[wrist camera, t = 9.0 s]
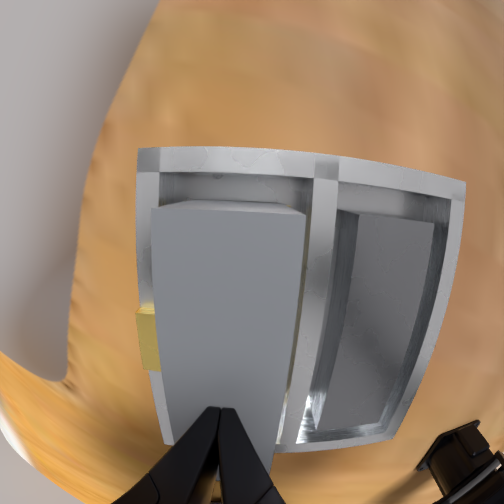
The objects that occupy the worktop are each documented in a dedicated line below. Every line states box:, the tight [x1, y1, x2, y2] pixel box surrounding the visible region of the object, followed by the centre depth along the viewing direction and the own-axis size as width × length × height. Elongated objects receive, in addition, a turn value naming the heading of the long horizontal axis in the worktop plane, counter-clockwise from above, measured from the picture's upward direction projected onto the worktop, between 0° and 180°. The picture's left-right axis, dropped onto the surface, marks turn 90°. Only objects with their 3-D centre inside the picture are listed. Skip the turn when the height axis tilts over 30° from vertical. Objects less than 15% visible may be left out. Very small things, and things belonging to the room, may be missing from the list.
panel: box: [151, 199, 306, 481], centre depth 11 cm, size 12×4×6 cm, turn 177°
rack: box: [135, 146, 466, 453], centre depth 13 cm, size 16×15×4 cm
